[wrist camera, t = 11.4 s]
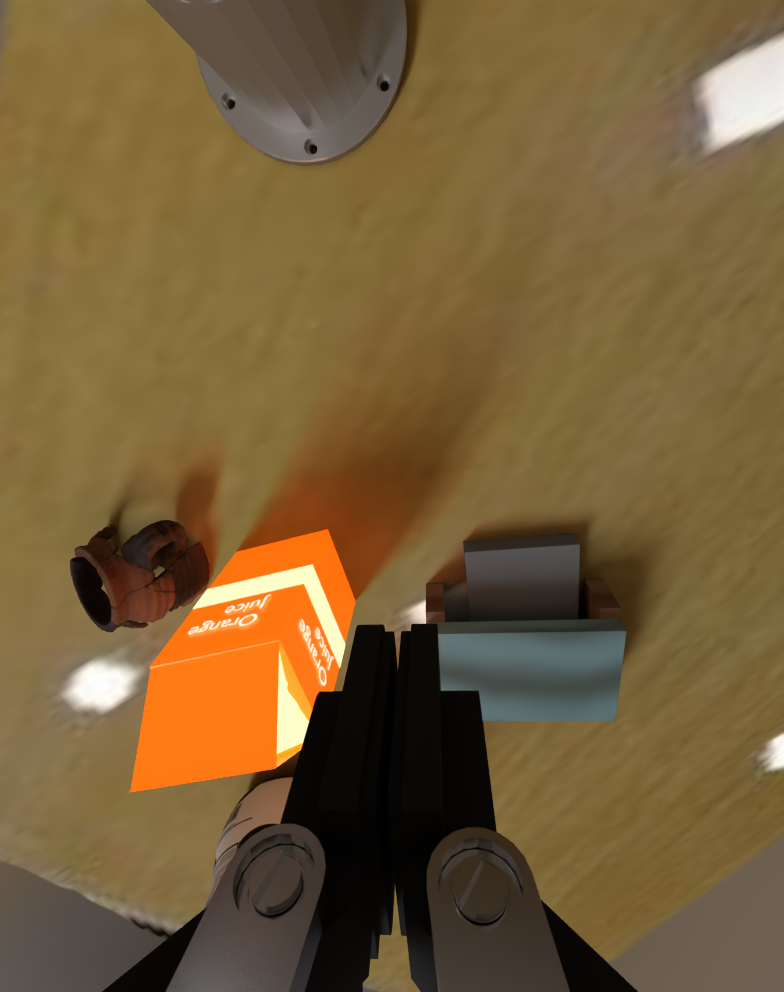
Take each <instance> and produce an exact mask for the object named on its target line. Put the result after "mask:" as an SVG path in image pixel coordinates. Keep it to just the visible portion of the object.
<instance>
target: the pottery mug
mask: <svg viewBox="0 0 784 992" xmlns="http://www.w3.org/2000/svg"><path fill="white" fill-rule="evenodd" d="M114 534H115V528H114V526H113V525H111V526H109V527H105V528H104V529H103V530H101V531H99V532H97V534H96V535H95V536H93V537H92V538H91V540H90V542H89V543H88V545H86V546H79V547H77V548H75V555H76V556H77V557H75V558H73V559H71V560H70V570H71V576H72V580H73V584H74V587H75V589H76V592H77V594H78V597H79V599H80V602H81V604H82V605H83V607H84V609H85V611H86V613H87V614H88V616H89V617H90V619H91V620H92V621H93V622H94V623H95V624H96V625H97V626H98V627H99V628H100V629H102V630H104V631H106V632H114V630H115V629H116V628H118V627H120V626H123V627H129V628H144V627H146V626H148V624H147V623H139V622H155V621H156V620H159V619H162V618H163V617H164V616H165V615H166V613H167V612H168V611H173V610H174V609H177V608H178V607H179V606H180V605H181V606H182V607H184V606H186V605H188V604H190V603H191V602H192V601H193V600H194V599H195V598H196V597H197V596H198V595H199V594H201V593H202V592H203V591H204V590H205V588H206V586H207V583H208V579H209V563H208V559H207V556H206V554H205V551H204V549H203V546H202V544H201V543H197V544H195V545H194V546H191V547H189V548H187V537H186V534H185V530H184V528H183V527H182V526H181V525H180V524H179V523H178V522H175V521H171V520H163V521H159V522H156V523H153V524H150V525H148V526H147V527H145V528H143V529H142V530H141V531H140V532H139V533H138V534H136V535H133V536H131V537H130V539H129V540H127V541H126V542H125V543H124V544H123V546H122V548H121V551H122V554H123V557H121V556H118V555H116V554H115V553H116V552H117V550H118V546H117V545H116V544H114V543H111V542H109V541H108V539H110V538H111V537H113V536H114ZM158 566H162V567H163V568H165V571H163V572H162V573H161V574H160V575H159V576H158V577H156V578H155V574H154V572H153V570H154V569H156V568H157V567H158ZM102 581H103V583H102ZM103 584H104V586H105V588H106V591H107V594H108V595H107V594H106V593H105V592H104V591H103V590H102V589H101V587H102V586H103ZM108 597H109V598H108ZM135 621H136V622H135Z"/></svg>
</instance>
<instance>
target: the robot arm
mask: <svg viewBox="0 0 784 992" xmlns="http://www.w3.org/2000/svg"><path fill="white" fill-rule="evenodd" d="M146 1H147V2H148V3H149V4H150V5H151V6H152V7H153V8H154V9H155V10H156V11H157V12H158V13H159V14H160V15H161V16H162V17H163V18H164V20H165V21H166V22H167V23H168V24H169V25H170V26H171V27H172V28H173V29H174V30H175V31H176V32H177V33H178V34H179V35H180V36H181V37H182V38H183V39H184V40H185V41H186V42H187V43H188V44H189V45H190V47H191V48H192V49H193V50H194V51H195V52H196V56H197V60H198V63H199V67H200V71H201V75H202V77H203V79H204V82H205V84H206V87H207V89H208V91H209V94H210V96H211V98H212V99H213V101H214V103H215V104H216V106H217V108H218V109H219V111H220V113H221V114H222V116H223V117H224V118H225V119H226V121H227V122H228V123H229V124H230V125H231V126H232V128H233V129H234V130H235V131H236V132H237V133H238V134H239V135H240V136H241V137H242V138H243V139H244V140H246V141H247V142H248V143H249V144H250V145H252V146H253V147H255V148H256V149H258V150H259V151H261V152H262V153H264V154H265V155H267V156H269V157H272V158H274V159H277V160H279V161H282V162H284V163H290V164H296V165H301V166H306V165H321V164H325V163H328V162H332V161H335V160H339V159H340V158H342V157H344V156H346V155H348V154H350V153H351V152H353V151H355V150H356V149H357V148H359V147H360V146H361V145H362V144H363V143H364V142H366V141H367V140H368V139H369V138H370V137H371V136H372V135H373V134H374V132H375V131H376V130H377V129H378V127H379V126H380V125H381V124H382V122H383V121H384V119H385V118H386V116H387V114H388V112H389V110H390V108H391V106H392V105H393V103H394V101H395V98H396V95H397V92H398V89H399V86H400V83H401V80H402V77H403V72H404V66H405V60H406V55H407V18H406V5H405V0H146ZM384 83H386V84H388V85H389V89H388V90H387V91H385V92H384V91H382V90H381V86H382V85H383V84H384ZM232 102H235V107H234V108H233V109H232V110H231V109H230V105H231V103H232ZM313 146H316V147H317V152H316V153H315V154H311V152H310V151H311V148H312V147H313ZM395 887H396V895H397V904H398V913H399V921H400V930H401V935H403V936H407V943H408V952H409V962H410V971H411V978H412V980H413V981H414V983H415V984H416V985H417V987H418V988H419V990H420V991H421V992H638V991H637V990H636V989H634V988H633V987H632V986H631V985H630V984H629V983H628V982H627V981H626V980H625V979H624V978H623V977H622V976H621V975H620V974H619V973H618V972H617V971H615V969H613V968H612V967H611V966H610V965H609V964H608V963H607V962H606V961H605V960H604V959H603V958H602V957H601V956H600V955H599V954H598V953H597V952H596V951H595V950H593V949H592V948H591V947H590V946H589V945H588V944H587V943H586V942H585V941H584V940H583V939H582V938H581V937H580V936H579V935H578V934H577V933H576V932H575V931H573V930H572V929H571V928H570V927H569V926H568V925H567V924H566V923H565V922H564V921H563V920H562V919H561V918H560V917H559V916H558V915H557V914H556V913H554V912H553V911H552V910H551V909H550V908H549V907H548V906H547V905H546V904H545V903H544V902H543V901H542V900H541V899H540V896H539V892H538V889H537V886H536V883H535V880H534V877H533V874H532V871H531V869H530V867H529V865H528V863H527V861H526V859H525V857H524V855H523V854H522V853H521V852H520V851H519V849H518V848H517V847H516V846H515V845H514V843H513V842H511V841H510V840H508V839H507V838H505V837H504V836H502V835H501V834H500V833H497V831H496V823H495V815H494V807H493V799H492V791H491V783H490V775H489V767H488V759H487V751H486V743H485V735H484V727H483V719H482V711H481V703H480V696H479V691H478V690H475V691H441V682H440V662H439V642H438V624H412V625H411V631H402V632H401V641H400V653H399V665H398V668H397V657H396V646H395V636H394V632H385V628H384V625H358V626H357V628H356V631H355V636H354V641H353V645H352V650H351V654H350V659H349V663H348V668H347V672H346V677H345V681H344V686H343V690H342V691H320V692H319V693H318V694H317V696H316V699H315V702H314V705H313V709H312V712H311V716H310V720H309V723H308V727H307V730H306V734H305V737H304V741H303V744H302V748H301V751H300V755H299V758H298V762H297V765H296V769H295V773H294V776H293V780H292V783H291V787H290V790H289V794H288V797H287V801H286V804H285V808H284V811H283V815H282V818H281V822H280V824H278V825H274V826H271V827H267V828H265V829H263V830H261V831H260V832H258V833H256V834H255V835H253V836H251V837H250V838H249V839H248V840H247V841H246V842H245V843H244V844H243V845H242V846H241V847H240V848H239V849H238V850H237V852H236V853H235V855H234V856H233V858H232V859H231V861H230V863H229V864H228V866H227V868H226V870H225V872H224V874H223V876H222V878H221V880H220V882H219V884H218V886H217V888H216V890H215V892H214V894H213V896H212V898H211V901H210V903H209V905H208V907H206V908H205V909H204V910H203V911H201V912H200V913H199V914H198V915H196V916H195V917H194V918H193V919H191V920H190V921H189V922H188V923H187V924H185V925H184V926H183V927H182V928H180V929H179V930H178V931H177V932H175V933H174V934H173V935H172V936H170V937H169V938H168V939H167V940H166V941H164V942H163V943H162V944H161V945H159V946H158V947H157V948H156V949H154V950H153V951H152V952H151V953H150V954H148V955H147V956H146V957H145V958H143V959H142V960H141V961H140V962H138V963H137V964H136V965H135V966H133V967H132V968H131V969H130V970H128V971H127V972H126V973H125V974H124V975H122V976H121V977H120V978H119V979H117V980H116V981H115V982H114V983H112V984H111V985H110V986H109V987H107V988H106V989H105V990H104V991H102V992H355V991H356V990H357V989H358V987H359V986H360V985H361V984H362V983H363V982H364V981H365V980H366V979H367V977H368V976H369V966H370V959H378V951H379V939H380V935H391V933H392V923H393V907H394V890H395Z"/></svg>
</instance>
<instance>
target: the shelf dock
mask: <svg viewBox="0 0 784 992" xmlns="http://www.w3.org/2000/svg"><path fill="white" fill-rule="evenodd" d="M620 609H621V608H620V606H619V605H618V603H617V601H616V600H615V598H614V596H613V595H612V593H611V591H610V590H609V588H608V587H607V585H606V583H605V582H604V580H603V579H585V582H584V594H583V606H582V619H581V620H532V621H480V622H445V608H444V587H443V583H433V584H426V624H438V642H439V662H440V682H441V691H475V690H478V691H479V696H480V703H481V711H482V719H483V721H615V719H616V711H617V703H618V695H619V687H620V679H621V671H622V663H623V655H624V647H625V639H626V629H625V628H624V626H623V624H622V622H621V621H620V619H619V618H620Z"/></svg>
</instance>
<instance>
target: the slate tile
mask: <svg viewBox="0 0 784 992" xmlns="http://www.w3.org/2000/svg"><path fill="white" fill-rule="evenodd" d="M463 546H464V558H465V571H466V584H467V597H468V610H469V622H480V621H532V620H578V607H579V560H580V544H579V542H578V540H577V539H576V537H575V535H574V534H573V533H569V534H556V535H543V536H530V537H517V538H503V539H490V540H477V541H464V542H463Z"/></svg>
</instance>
